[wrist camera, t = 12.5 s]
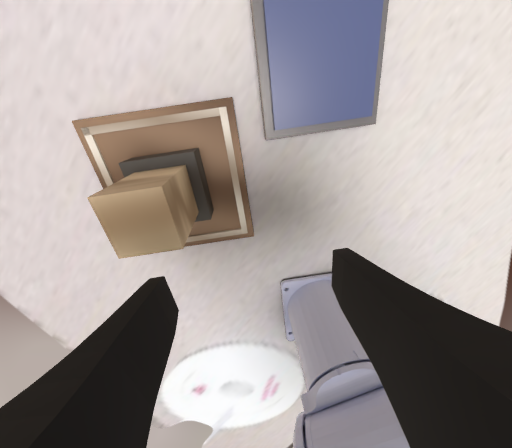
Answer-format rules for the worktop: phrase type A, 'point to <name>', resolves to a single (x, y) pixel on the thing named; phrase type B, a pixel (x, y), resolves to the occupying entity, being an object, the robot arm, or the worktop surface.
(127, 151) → the board
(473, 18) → the worktop surface
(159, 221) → the stamp
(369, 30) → the ink pad
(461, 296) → the worktop surface
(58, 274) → the worktop surface
